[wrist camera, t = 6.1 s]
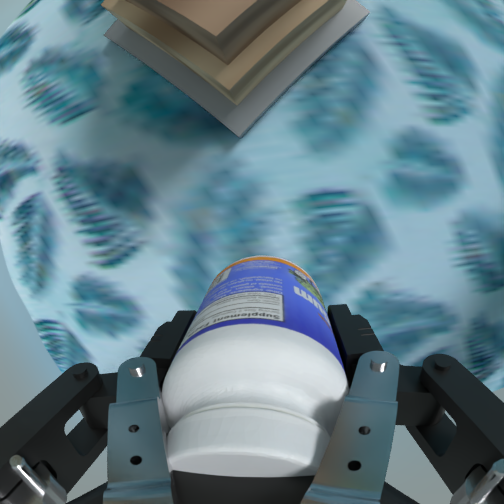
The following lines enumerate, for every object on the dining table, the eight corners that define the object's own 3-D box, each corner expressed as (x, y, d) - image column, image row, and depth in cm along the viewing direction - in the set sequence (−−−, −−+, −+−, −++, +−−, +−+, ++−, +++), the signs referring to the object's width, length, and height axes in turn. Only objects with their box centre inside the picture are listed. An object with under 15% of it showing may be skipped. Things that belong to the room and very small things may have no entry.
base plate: (365, 18, 16) (370, 12, 15) (240, 138, 20) (239, 137, 19) (229, -65, 14) (228, -72, 13) (110, 39, 18) (103, 35, 16)
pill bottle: (331, 338, 15) (377, 514, 5) (229, 363, 15) (193, 534, 6) (304, 236, 13) (367, 395, 4) (189, 270, 14) (80, 429, 5)
